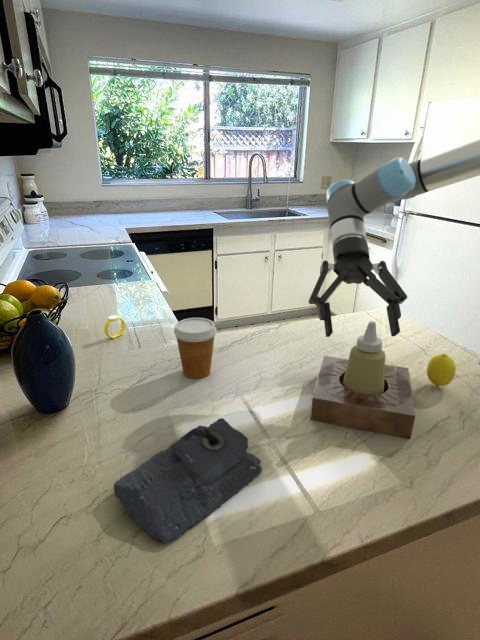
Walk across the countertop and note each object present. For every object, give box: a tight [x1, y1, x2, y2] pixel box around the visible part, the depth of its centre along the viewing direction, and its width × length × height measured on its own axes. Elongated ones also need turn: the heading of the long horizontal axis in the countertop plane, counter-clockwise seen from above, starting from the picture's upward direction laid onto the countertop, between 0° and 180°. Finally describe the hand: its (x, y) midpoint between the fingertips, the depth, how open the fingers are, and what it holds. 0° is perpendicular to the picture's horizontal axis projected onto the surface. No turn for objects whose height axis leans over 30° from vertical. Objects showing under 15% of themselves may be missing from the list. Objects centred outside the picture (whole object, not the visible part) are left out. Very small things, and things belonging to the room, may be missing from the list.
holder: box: [310, 355, 416, 440], centre depth 82 cm, size 18×18×5 cm
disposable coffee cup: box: [173, 317, 217, 380], centre depth 92 cm, size 10×10×12 cm
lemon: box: [426, 353, 457, 387], centre depth 88 cm, size 6×6×8 cm
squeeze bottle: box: [343, 320, 386, 395], centre depth 79 cm, size 8×8×18 cm
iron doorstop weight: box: [113, 417, 263, 544], centre depth 62 cm, size 15×22×5 cm
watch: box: [103, 314, 126, 340], centre depth 110 cm, size 6×3×6 cm, turn 144°
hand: (362, 334), depth 81 cm, fingers open, 13 cm apart
